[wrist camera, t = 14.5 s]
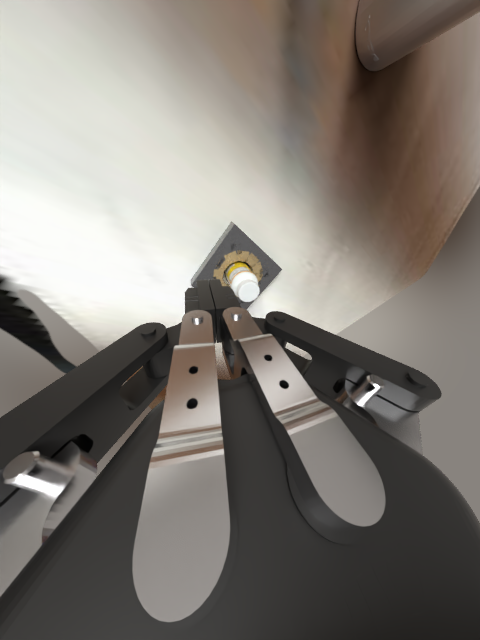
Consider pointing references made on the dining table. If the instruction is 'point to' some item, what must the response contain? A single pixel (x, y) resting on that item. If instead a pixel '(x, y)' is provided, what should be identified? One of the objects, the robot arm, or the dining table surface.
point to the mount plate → (234, 249)
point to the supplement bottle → (242, 281)
